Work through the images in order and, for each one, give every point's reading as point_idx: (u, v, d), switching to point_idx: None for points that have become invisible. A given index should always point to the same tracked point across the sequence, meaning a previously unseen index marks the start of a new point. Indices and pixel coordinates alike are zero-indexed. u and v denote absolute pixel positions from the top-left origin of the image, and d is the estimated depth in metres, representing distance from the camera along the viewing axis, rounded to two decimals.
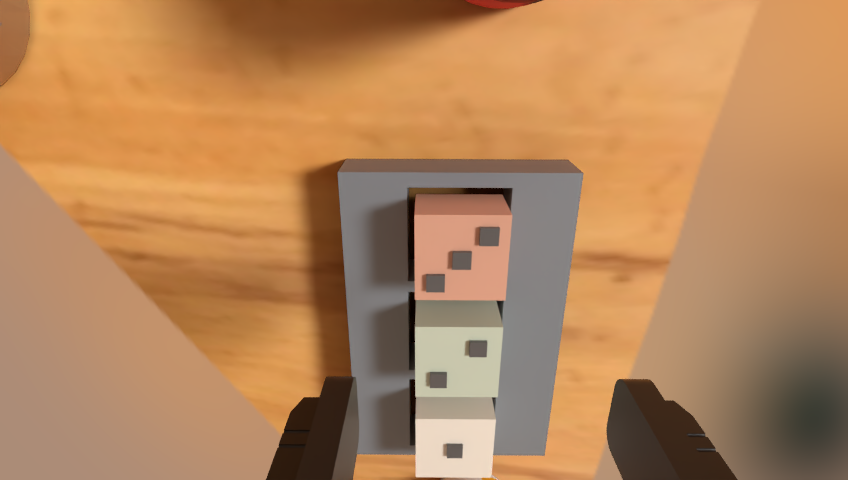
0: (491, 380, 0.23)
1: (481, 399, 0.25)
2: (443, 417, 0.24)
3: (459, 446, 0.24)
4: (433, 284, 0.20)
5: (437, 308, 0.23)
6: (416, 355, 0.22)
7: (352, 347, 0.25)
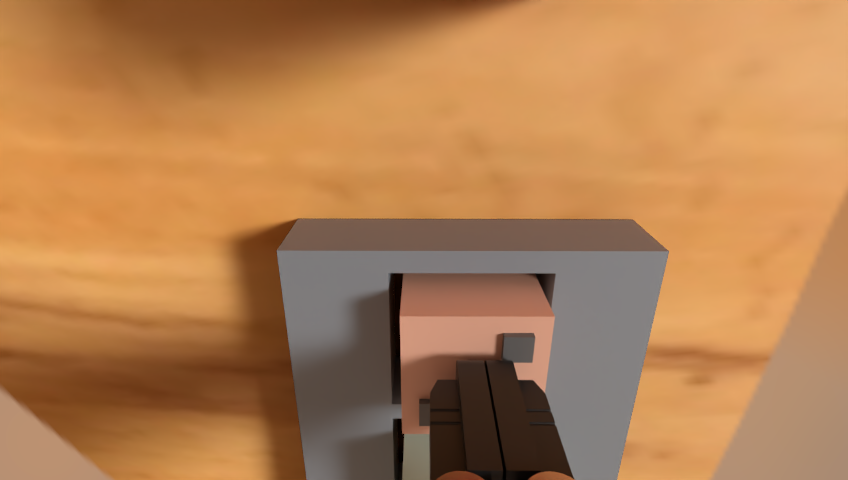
0: None
1: None
2: None
3: None
4: None
5: None
6: None
7: None
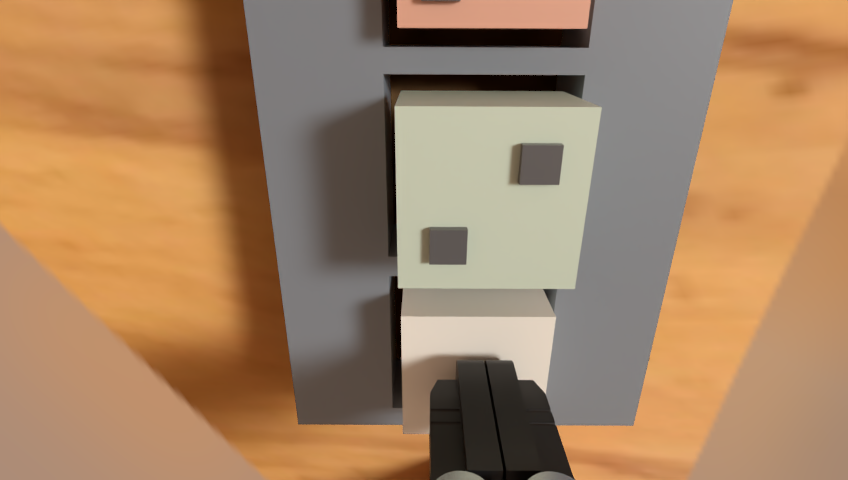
0: (565, 247, 0.10)
1: (523, 290, 0.14)
2: (454, 314, 0.12)
3: None
4: None
5: (446, 96, 0.11)
6: (399, 184, 0.10)
7: (275, 206, 0.13)
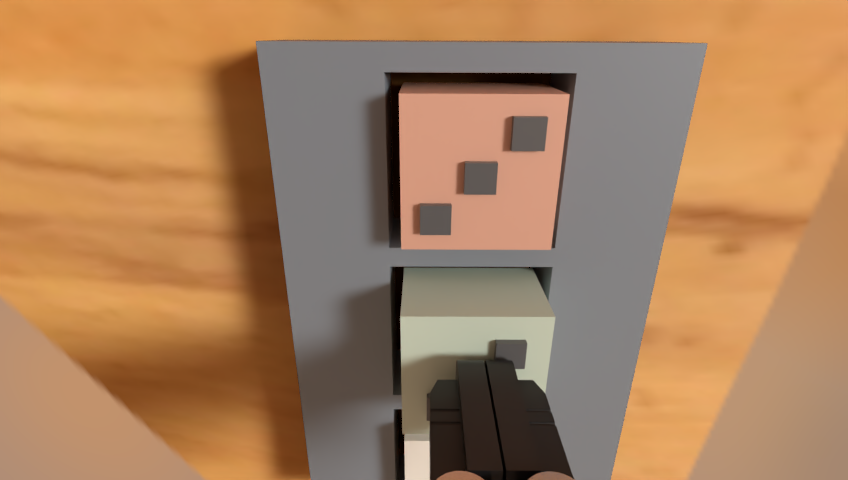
0: None
1: None
2: None
3: None
4: (432, 221, 0.12)
5: (439, 286, 0.14)
6: (403, 366, 0.13)
7: (300, 359, 0.15)
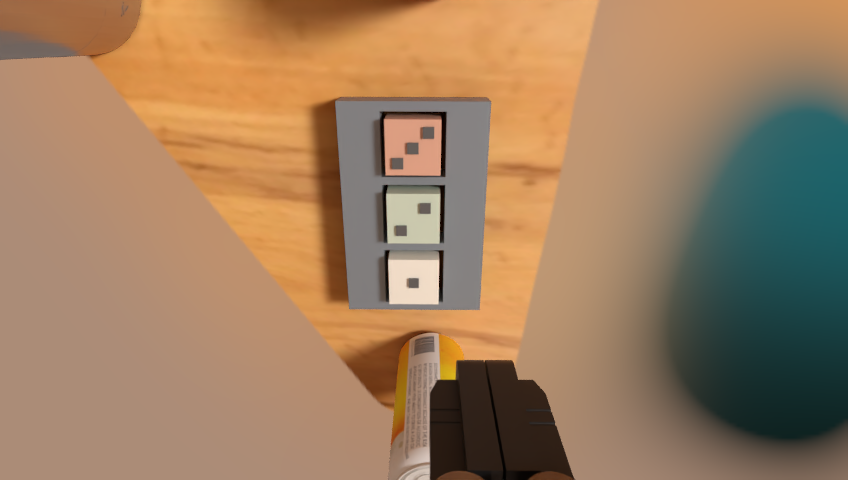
0: (435, 231, 0.36)
1: (431, 252, 0.39)
2: (406, 259, 0.37)
3: (416, 279, 0.38)
4: (396, 164, 0.34)
5: (401, 187, 0.37)
6: (387, 213, 0.36)
7: (345, 225, 0.37)
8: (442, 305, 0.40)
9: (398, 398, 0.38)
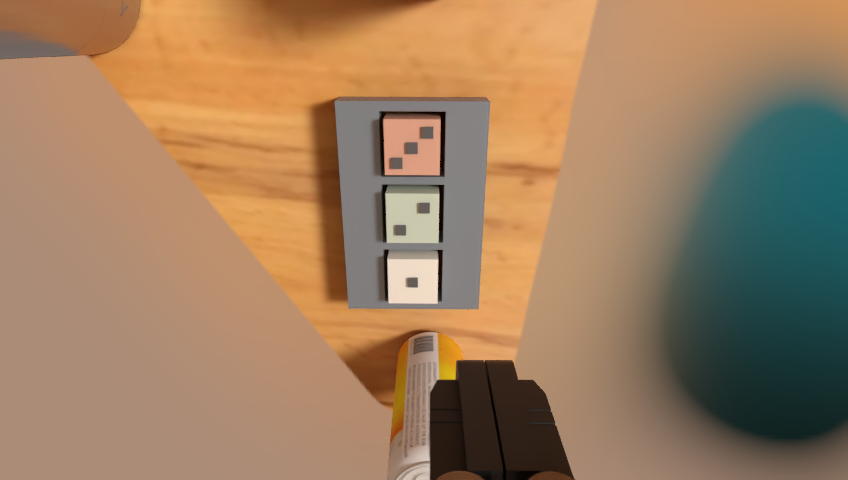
0: (434, 230, 0.36)
1: (430, 252, 0.39)
2: (405, 258, 0.38)
3: (415, 278, 0.38)
4: (395, 163, 0.34)
5: (400, 187, 0.37)
6: (386, 213, 0.36)
7: (344, 225, 0.37)
8: (441, 304, 0.40)
9: (397, 397, 0.38)
